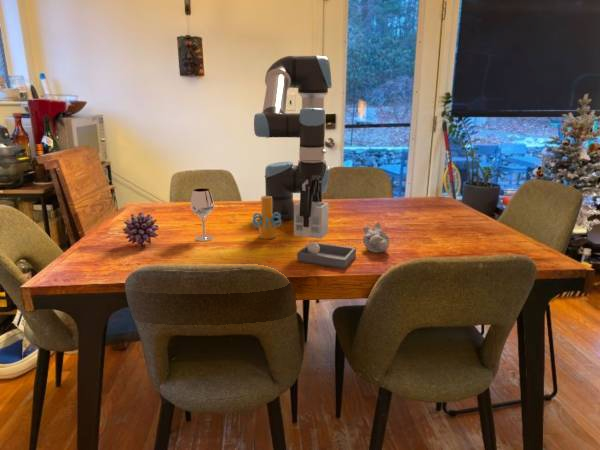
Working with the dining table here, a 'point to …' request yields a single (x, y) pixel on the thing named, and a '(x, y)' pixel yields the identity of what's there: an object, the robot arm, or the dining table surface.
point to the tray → (328, 256)
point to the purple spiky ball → (140, 228)
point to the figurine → (375, 239)
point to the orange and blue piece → (266, 219)
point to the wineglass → (202, 208)
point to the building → (313, 220)
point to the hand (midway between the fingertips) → (311, 232)
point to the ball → (313, 248)
